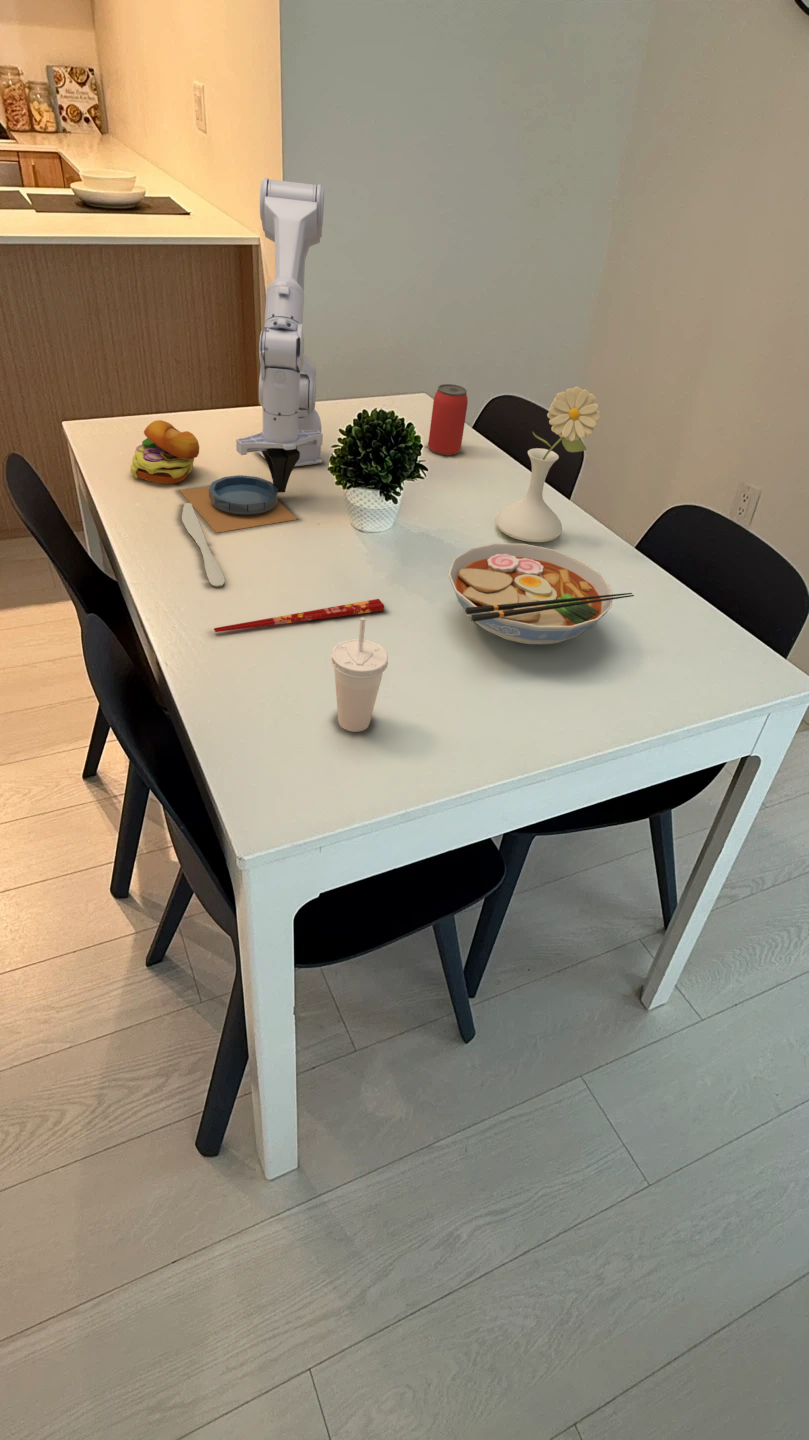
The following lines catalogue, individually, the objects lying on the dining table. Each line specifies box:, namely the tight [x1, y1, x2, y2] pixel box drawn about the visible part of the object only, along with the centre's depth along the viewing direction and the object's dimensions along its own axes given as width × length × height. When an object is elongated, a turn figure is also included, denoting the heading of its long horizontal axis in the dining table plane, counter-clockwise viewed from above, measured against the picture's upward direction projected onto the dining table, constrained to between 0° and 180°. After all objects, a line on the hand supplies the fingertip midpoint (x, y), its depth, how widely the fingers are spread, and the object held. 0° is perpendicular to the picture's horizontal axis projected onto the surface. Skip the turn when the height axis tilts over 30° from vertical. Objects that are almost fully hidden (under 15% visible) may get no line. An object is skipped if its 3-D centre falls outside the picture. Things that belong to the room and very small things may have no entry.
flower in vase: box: [494, 386, 601, 543], centre depth 139 cm, size 13×11×25 cm
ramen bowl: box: [447, 542, 635, 645], centre depth 120 cm, size 25×23×8 cm
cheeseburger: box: [130, 419, 200, 485], centre depth 148 cm, size 10×11×10 cm
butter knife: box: [181, 502, 226, 587], centre depth 132 cm, size 1×27×3 cm
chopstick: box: [213, 598, 385, 633], centre depth 118 cm, size 2×24×1 cm, turn 116°
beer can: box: [427, 383, 469, 456], centre depth 169 cm, size 7×7×12 cm
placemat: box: [179, 486, 298, 534], centre depth 144 cm, size 14×16×1 cm
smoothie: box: [330, 616, 389, 733], centre depth 98 cm, size 6×6×14 cm
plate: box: [209, 474, 279, 514], centre depth 144 cm, size 11×11×2 cm
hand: (279, 489), depth 146 cm, fingers closed
